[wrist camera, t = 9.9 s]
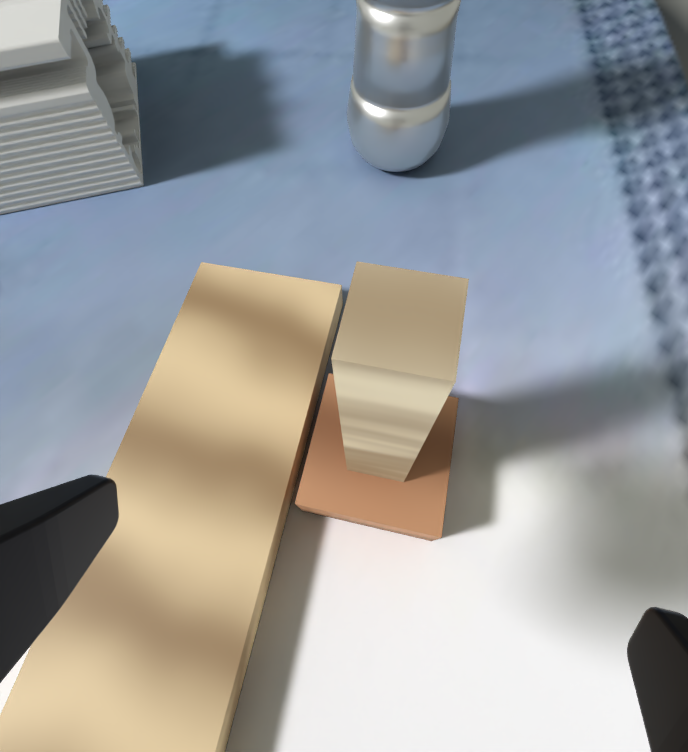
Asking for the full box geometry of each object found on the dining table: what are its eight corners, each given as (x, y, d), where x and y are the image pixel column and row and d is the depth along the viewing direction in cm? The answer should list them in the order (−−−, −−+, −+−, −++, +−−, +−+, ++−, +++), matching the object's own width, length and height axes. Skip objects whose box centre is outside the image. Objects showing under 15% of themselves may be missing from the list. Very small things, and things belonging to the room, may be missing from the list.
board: (212, 799, 15) (194, 827, 14) (20, 736, 16) (-18, 755, 15) (342, 304, 24) (341, 285, 22) (211, 282, 25) (201, 262, 23)
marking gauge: (431, 540, 19) (552, 499, 7) (302, 510, 20) (212, 427, 8) (448, 415, 21) (559, 226, 9) (332, 393, 22) (298, 190, 10)
